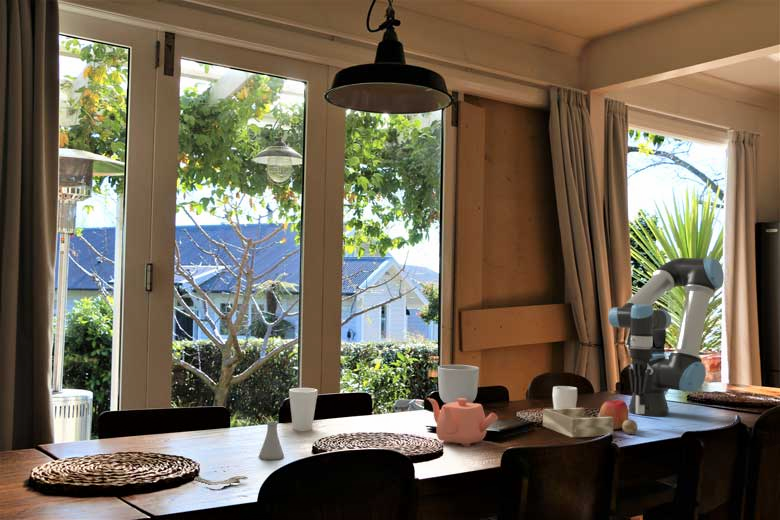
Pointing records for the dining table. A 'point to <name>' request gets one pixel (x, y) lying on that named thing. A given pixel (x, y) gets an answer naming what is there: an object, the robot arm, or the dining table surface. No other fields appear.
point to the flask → (271, 443)
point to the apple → (615, 412)
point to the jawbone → (229, 481)
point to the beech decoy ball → (629, 426)
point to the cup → (564, 397)
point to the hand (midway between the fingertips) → (639, 413)
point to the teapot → (461, 422)
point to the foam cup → (302, 407)
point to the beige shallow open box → (576, 422)
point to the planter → (457, 382)
